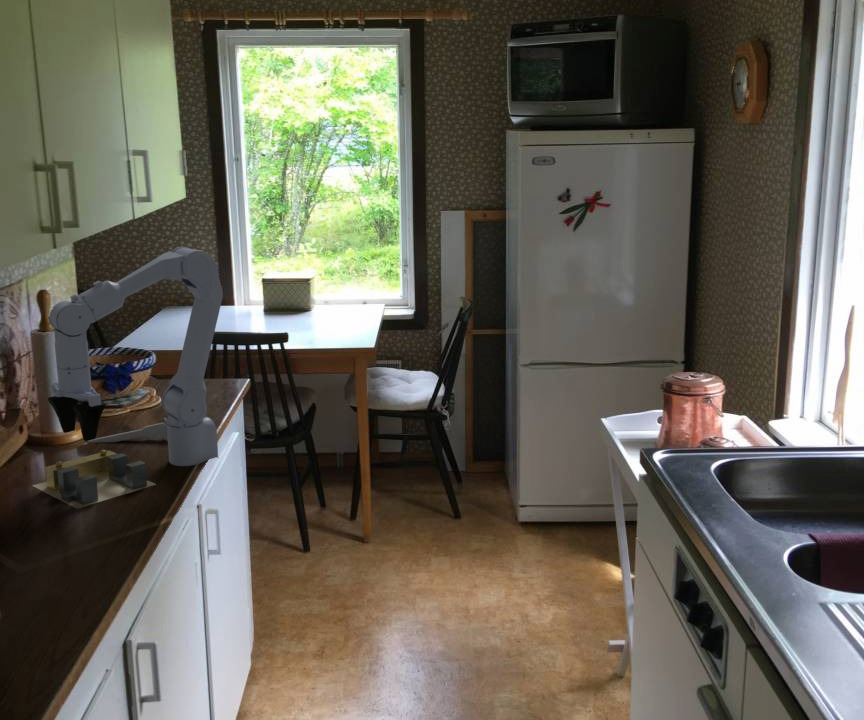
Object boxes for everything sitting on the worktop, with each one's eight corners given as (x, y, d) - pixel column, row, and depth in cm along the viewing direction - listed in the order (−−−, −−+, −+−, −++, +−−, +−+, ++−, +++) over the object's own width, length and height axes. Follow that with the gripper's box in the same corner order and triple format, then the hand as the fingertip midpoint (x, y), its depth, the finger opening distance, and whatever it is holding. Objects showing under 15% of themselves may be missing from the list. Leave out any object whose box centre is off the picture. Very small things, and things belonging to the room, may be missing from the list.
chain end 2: (128, 473, 178) (127, 451, 177) (152, 483, 173) (151, 461, 172) (109, 479, 175) (107, 457, 174) (133, 489, 170) (131, 467, 169)
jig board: (109, 467, 184) (109, 464, 183) (156, 488, 173) (156, 484, 173) (32, 489, 172) (31, 485, 172) (77, 512, 161) (77, 508, 161)
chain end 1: (74, 489, 170) (72, 466, 169) (98, 500, 165) (96, 477, 164) (53, 495, 167) (51, 472, 166) (76, 507, 162) (74, 483, 160)
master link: (110, 469, 180) (108, 446, 179) (118, 473, 178) (116, 449, 177) (47, 487, 171) (44, 463, 170) (54, 491, 169) (52, 466, 168)
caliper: (178, 443, 200) (177, 415, 199) (178, 444, 199) (176, 417, 198) (82, 446, 198) (80, 418, 196) (81, 447, 197) (79, 420, 195)
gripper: (33, 363, 171) (40, 432, 174) (73, 376, 162) (79, 448, 165) (68, 357, 176) (74, 424, 179) (109, 369, 167) (114, 439, 170)
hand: (79, 435), depth 172 cm, fingers open, 7 cm apart
